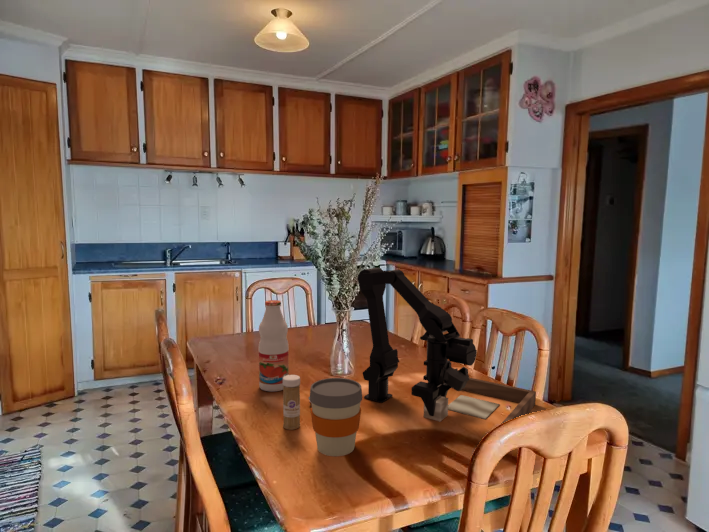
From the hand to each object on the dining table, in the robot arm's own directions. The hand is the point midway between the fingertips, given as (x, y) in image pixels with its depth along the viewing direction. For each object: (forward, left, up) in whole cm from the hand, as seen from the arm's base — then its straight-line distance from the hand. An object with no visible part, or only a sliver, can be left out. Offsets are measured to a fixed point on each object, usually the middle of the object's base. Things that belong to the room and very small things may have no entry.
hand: (435, 412), depth 132 cm
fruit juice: (-10, +52, -1) cm, 53 cm away
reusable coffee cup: (-30, +12, -1) cm, 32 cm away
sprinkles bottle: (-28, +28, -1) cm, 40 cm away
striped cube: (0, 0, -1) cm, 1 cm away
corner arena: (+11, -7, -1) cm, 13 cm away
